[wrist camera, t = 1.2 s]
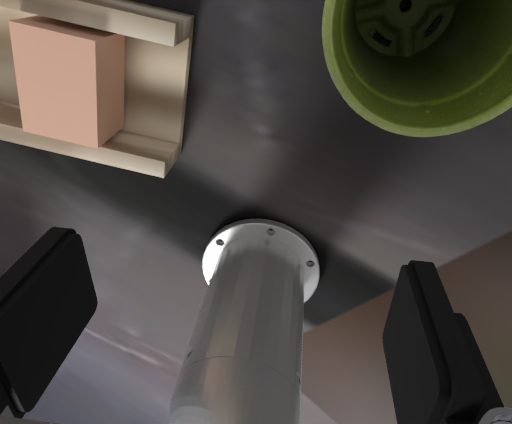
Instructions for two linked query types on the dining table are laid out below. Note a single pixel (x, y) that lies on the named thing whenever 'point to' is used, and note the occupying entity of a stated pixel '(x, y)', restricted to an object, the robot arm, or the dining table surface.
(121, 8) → the chute
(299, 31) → the dining table surface
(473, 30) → the plant pot
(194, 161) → the dining table surface
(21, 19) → the block
